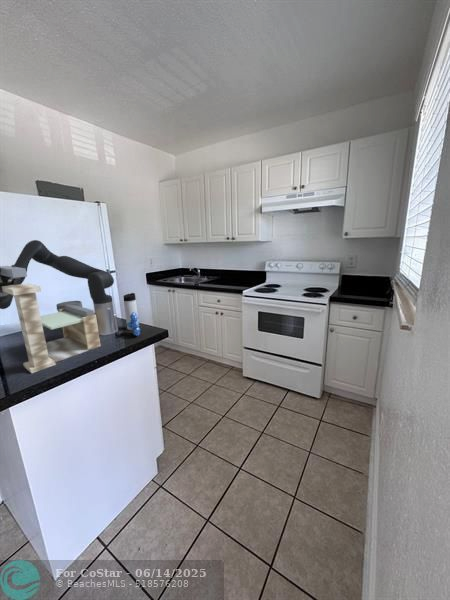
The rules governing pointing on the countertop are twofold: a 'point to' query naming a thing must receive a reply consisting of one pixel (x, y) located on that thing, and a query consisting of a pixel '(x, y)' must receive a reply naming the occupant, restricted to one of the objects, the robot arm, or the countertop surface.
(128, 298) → the travel mug
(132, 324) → the grapes
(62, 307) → the grey rounded piece
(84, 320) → the trapdoor frame
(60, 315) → the trapdoor
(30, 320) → the tall stand
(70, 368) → the countertop surface
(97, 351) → the countertop surface
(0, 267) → the slate block
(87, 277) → the robot arm
